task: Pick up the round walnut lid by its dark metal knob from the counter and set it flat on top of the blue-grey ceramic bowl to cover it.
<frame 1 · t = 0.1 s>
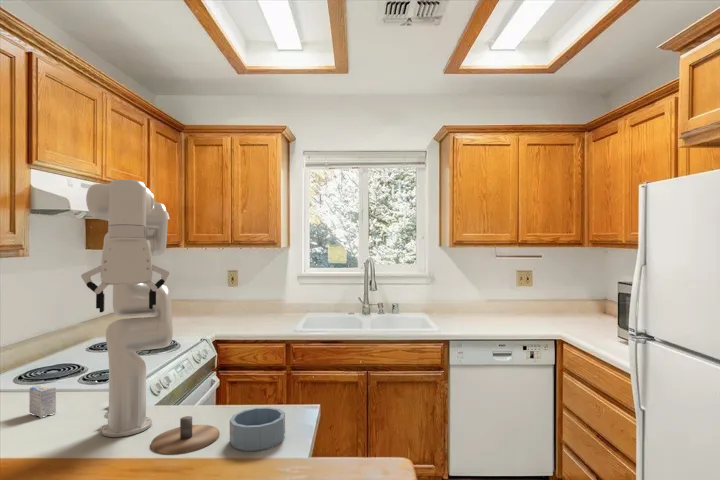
hand: (126, 310, 93), 37 cm above the counter, tool pointing down, fingers open, 9 cm apart
lid: (186, 440, 112), on the counter
medicine box: (42, 415, 133), on the counter
bowl: (258, 439, 111), on the counter
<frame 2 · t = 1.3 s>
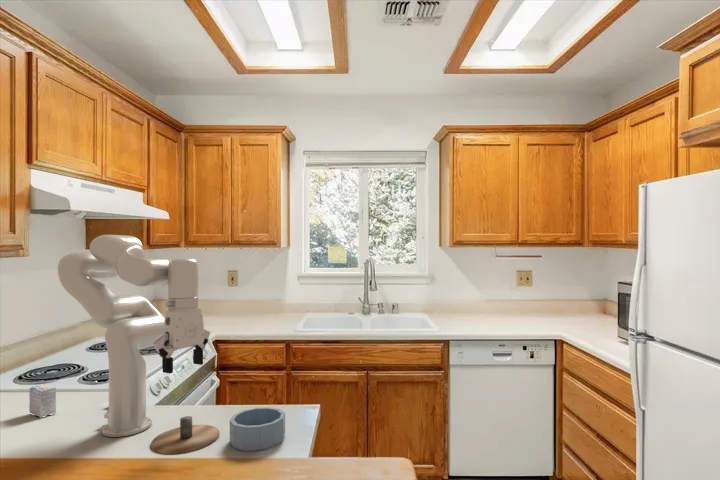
hand: (183, 368, 111), 19 cm above the counter, tool pointing down, fingers open, 9 cm apart
nothing on the counter moved.
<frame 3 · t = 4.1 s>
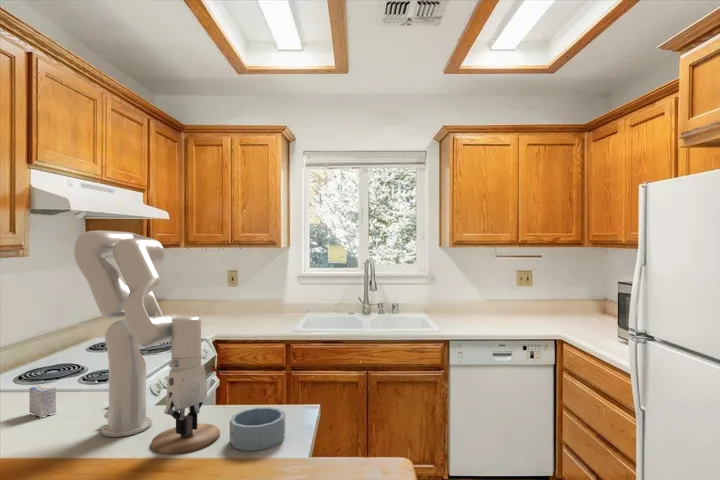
hand: (186, 430, 112), 2 cm above the counter, tool pointing down, fingers closed on lid, 3 cm apart
lid: (186, 439, 112), on the counter, touching gripper
everything else where it was.
when the fingers open (10 cm above the counter, at t = 9.1 s): lid drops 2 cm, resting on bowl.
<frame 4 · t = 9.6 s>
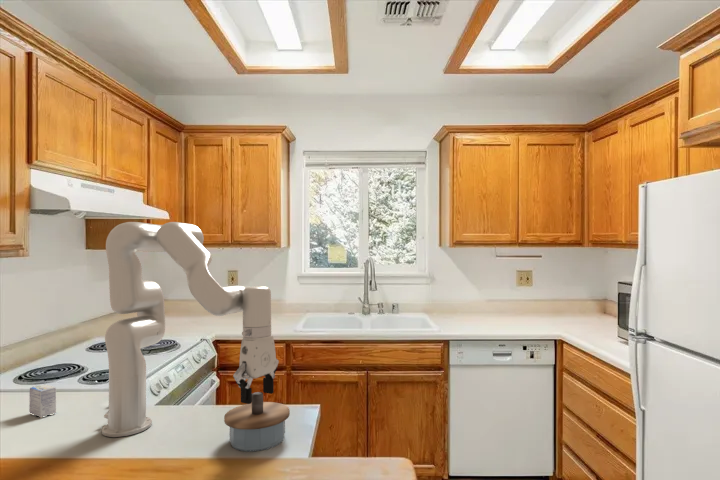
hand: (257, 397, 111), 11 cm above the counter, tool pointing down, fingers open, 8 cm apart
lid: (257, 416, 111), point 6 cm above the counter, touching bowl
everything else where it was.
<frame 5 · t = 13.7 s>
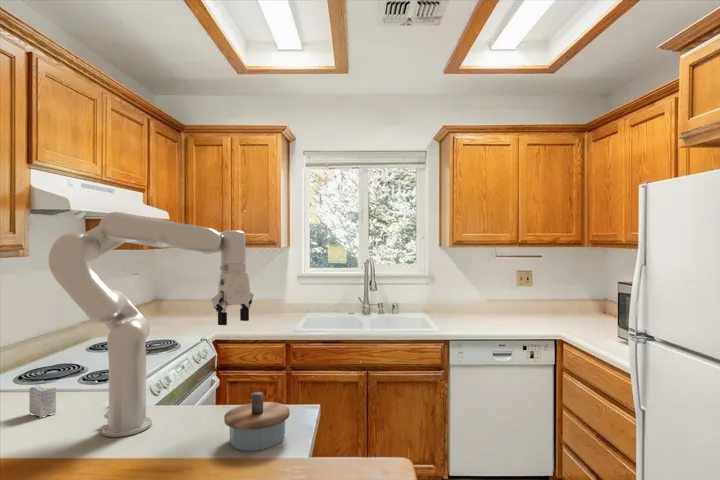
hand: (233, 322, 132), 28 cm above the counter, tool pointing down, fingers open, 9 cm apart
nothing on the counter moved.
at the end: lid 0.1 cm off-centre on the bowl, point 6.0 cm above the bowl's base; lid tilted 0°; the gripper is holding nothing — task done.
